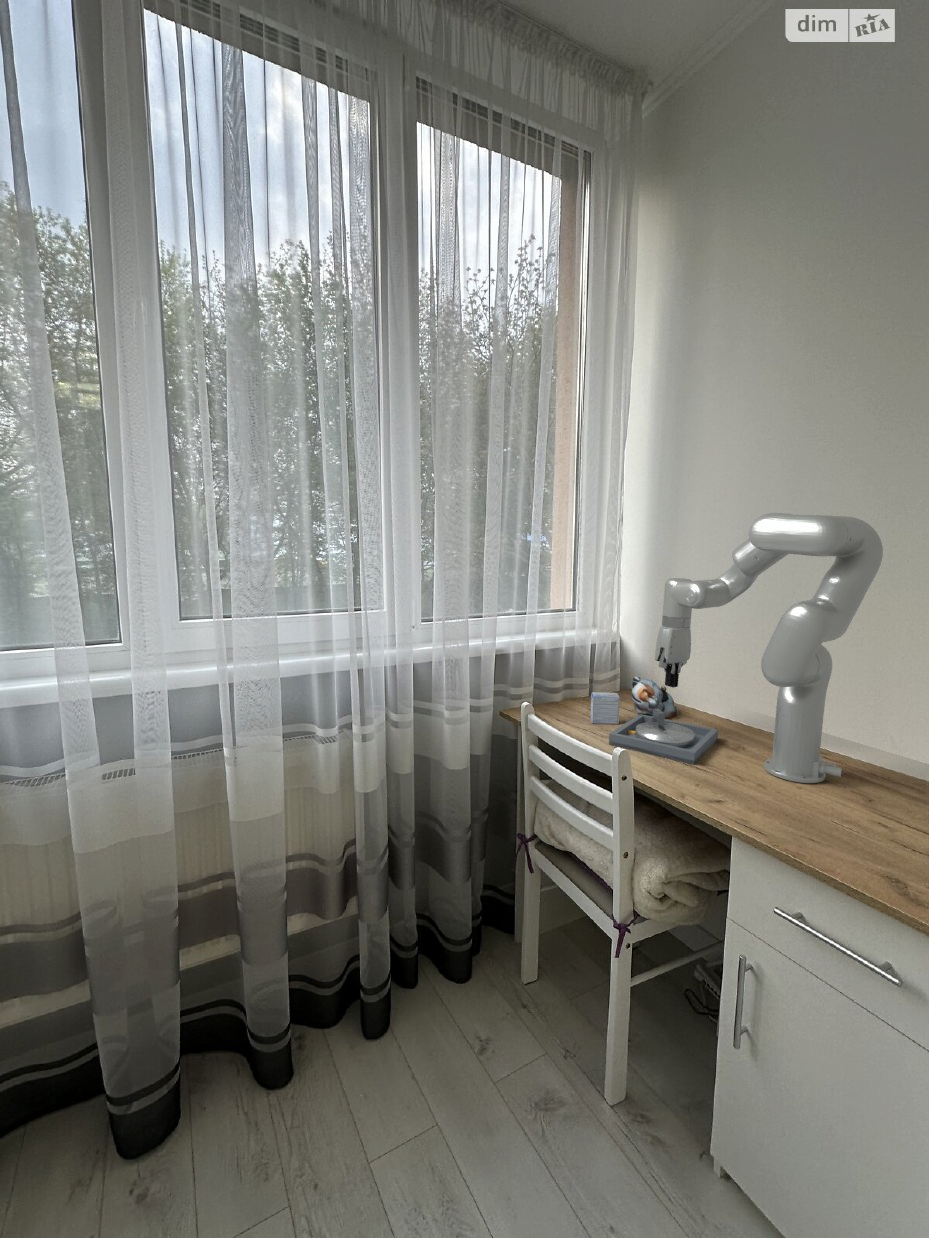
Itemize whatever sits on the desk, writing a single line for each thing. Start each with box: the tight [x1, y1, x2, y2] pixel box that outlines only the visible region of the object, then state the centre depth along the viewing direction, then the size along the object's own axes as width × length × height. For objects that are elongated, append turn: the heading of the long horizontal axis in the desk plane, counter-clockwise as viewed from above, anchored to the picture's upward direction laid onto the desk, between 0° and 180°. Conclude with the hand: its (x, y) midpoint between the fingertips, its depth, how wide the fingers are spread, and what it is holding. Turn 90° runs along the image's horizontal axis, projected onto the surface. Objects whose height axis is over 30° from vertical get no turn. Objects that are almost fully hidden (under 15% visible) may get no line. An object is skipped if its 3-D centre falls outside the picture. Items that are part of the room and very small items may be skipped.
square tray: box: [608, 714, 719, 766], centre depth 153 cm, size 22×22×3 cm
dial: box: [635, 709, 694, 748], centre depth 152 cm, size 15×15×6 cm
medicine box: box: [590, 691, 621, 725], centre depth 169 cm, size 8×4×9 cm, turn 84°
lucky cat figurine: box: [631, 676, 680, 719], centre depth 177 cm, size 15×12×14 cm
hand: (671, 685), depth 160 cm, fingers closed
